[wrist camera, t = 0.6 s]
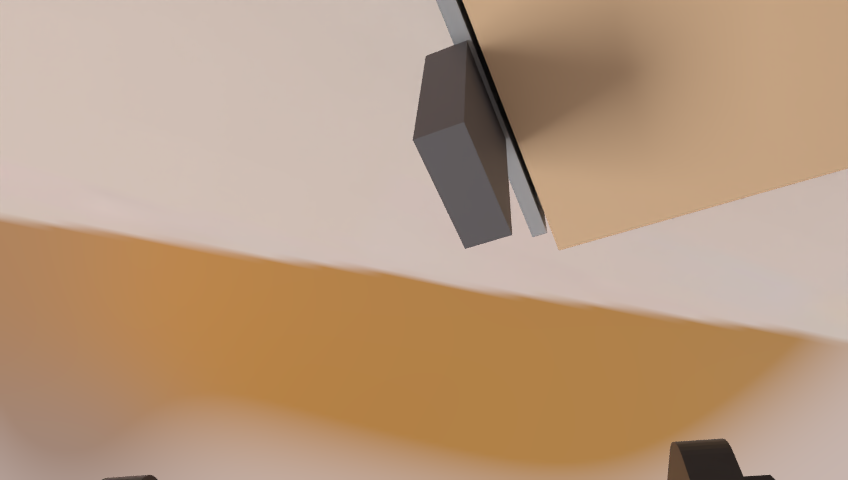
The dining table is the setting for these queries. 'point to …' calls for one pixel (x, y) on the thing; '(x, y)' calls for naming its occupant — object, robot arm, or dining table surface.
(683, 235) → the dining table surface
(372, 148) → the dining table surface
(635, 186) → the mailer sleeve
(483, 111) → the tray
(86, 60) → the dining table surface
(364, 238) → the dining table surface
